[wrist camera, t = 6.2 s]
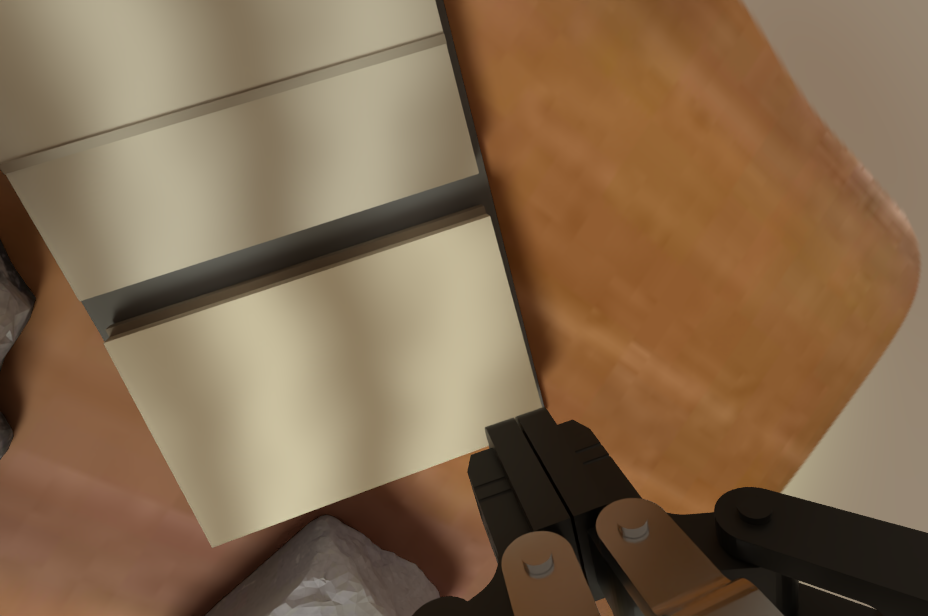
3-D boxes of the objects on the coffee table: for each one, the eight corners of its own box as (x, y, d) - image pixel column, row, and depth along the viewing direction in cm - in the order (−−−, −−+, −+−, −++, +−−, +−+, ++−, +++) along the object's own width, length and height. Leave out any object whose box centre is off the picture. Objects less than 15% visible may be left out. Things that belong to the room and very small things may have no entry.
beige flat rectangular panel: (217, 528, 25) (212, 547, 24) (111, 324, 22) (99, 335, 21) (537, 411, 27) (546, 424, 25) (480, 203, 23) (488, 208, 22)
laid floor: (219, 532, 26) (214, 559, 25) (-86, 4, 18) (-122, -1, 16) (544, 413, 28) (557, 432, 27) (409, -127, 19) (417, -142, 18)
